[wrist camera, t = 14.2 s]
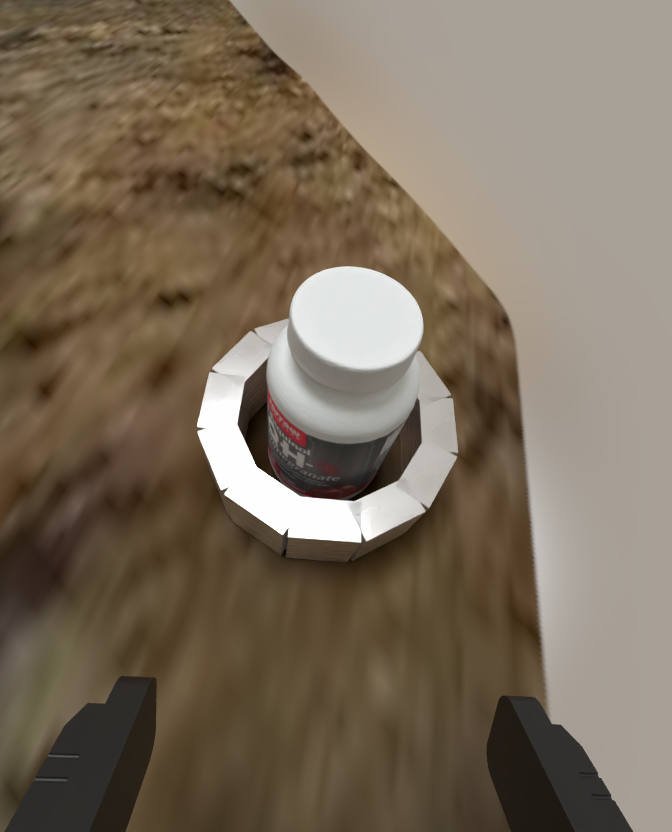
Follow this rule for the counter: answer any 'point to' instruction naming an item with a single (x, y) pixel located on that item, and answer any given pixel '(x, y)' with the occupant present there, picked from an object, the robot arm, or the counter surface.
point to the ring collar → (314, 517)
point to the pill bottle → (341, 381)
